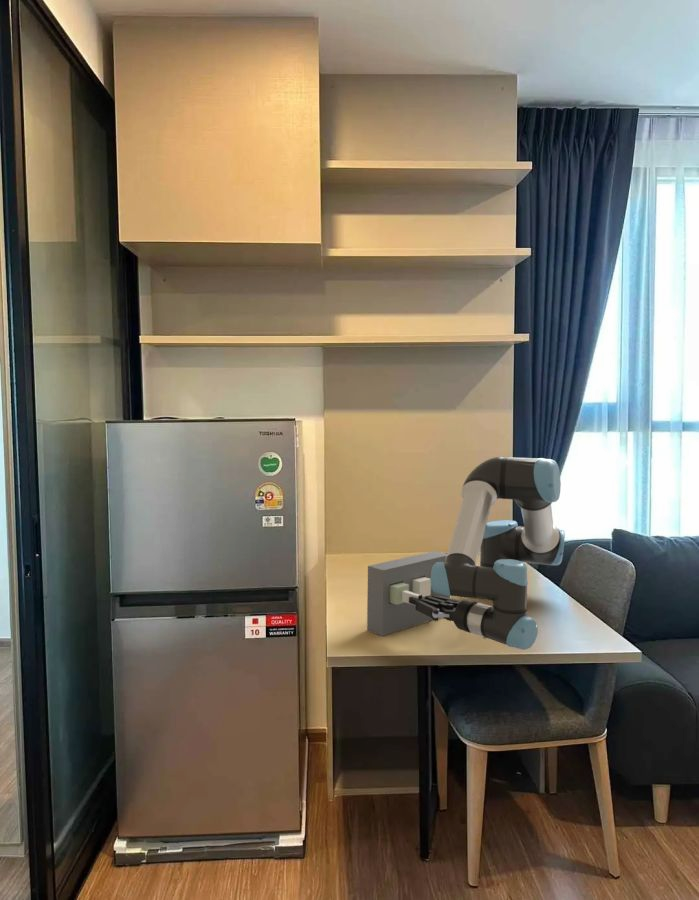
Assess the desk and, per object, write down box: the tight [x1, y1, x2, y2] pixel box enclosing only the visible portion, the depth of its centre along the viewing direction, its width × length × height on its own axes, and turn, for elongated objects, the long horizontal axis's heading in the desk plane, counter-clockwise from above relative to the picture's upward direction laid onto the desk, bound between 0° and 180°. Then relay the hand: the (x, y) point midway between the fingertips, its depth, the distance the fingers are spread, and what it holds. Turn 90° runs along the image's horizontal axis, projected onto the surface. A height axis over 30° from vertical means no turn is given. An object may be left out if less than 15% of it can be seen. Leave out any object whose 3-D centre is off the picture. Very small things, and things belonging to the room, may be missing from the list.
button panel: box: [366, 550, 451, 637], centre depth 189 cm, size 28×6×18 cm, turn 132°
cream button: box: [412, 576, 431, 597], centre depth 186 cm, size 5×6×5 cm
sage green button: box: [389, 582, 409, 605], centre depth 180 cm, size 5×6×5 cm
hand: (403, 595), depth 178 cm, fingers closed
